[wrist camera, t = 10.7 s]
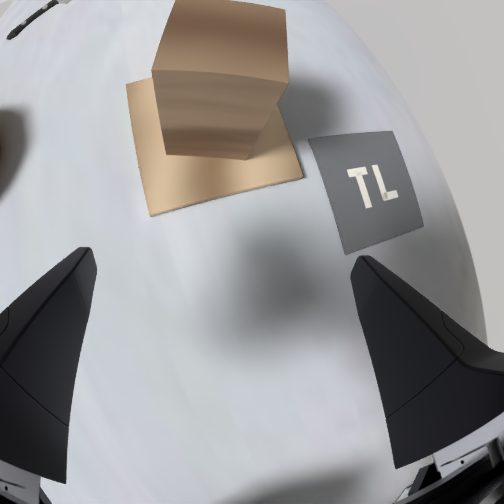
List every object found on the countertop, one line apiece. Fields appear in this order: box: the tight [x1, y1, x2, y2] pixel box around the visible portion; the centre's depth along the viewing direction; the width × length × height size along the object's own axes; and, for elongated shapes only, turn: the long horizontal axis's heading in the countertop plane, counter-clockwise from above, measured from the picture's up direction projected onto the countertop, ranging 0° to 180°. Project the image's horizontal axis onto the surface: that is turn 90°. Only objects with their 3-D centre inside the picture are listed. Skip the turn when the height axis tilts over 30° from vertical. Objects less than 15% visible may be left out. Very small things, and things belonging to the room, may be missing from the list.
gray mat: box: [309, 131, 424, 255], centre depth 20 cm, size 9×9×1 cm
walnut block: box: [151, 0, 289, 161], centre depth 13 cm, size 5×5×8 cm
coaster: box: [126, 77, 303, 217], centre depth 17 cm, size 10×10×1 cm
